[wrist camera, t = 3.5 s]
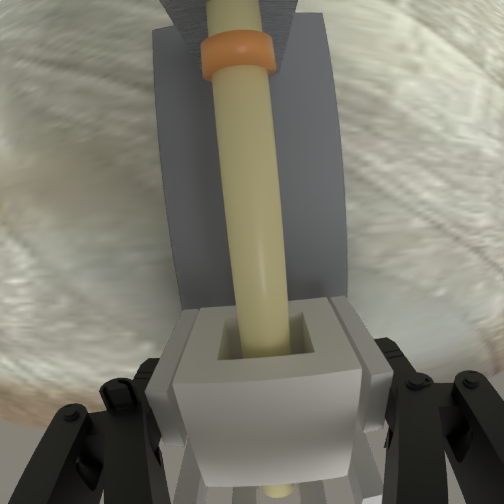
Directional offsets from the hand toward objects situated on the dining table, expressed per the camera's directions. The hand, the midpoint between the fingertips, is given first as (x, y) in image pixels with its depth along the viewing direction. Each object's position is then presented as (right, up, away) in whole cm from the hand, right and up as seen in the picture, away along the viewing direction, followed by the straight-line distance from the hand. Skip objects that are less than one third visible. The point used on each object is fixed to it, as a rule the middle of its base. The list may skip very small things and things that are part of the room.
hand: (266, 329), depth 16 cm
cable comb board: (0, +6, +4) cm, 7 cm away
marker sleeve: (0, -1, -2) cm, 3 cm away
